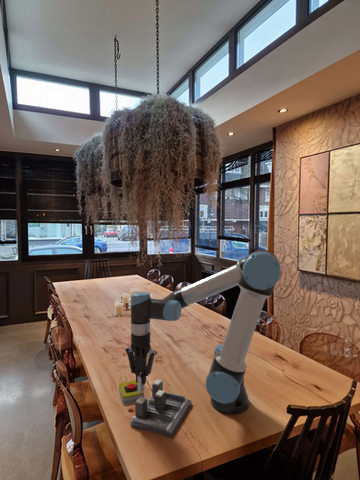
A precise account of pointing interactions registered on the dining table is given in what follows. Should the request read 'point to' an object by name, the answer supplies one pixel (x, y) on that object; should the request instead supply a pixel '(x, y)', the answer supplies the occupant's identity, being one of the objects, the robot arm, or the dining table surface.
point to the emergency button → (129, 392)
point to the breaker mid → (160, 400)
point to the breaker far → (156, 387)
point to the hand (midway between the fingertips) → (141, 391)
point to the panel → (163, 415)
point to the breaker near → (141, 408)
